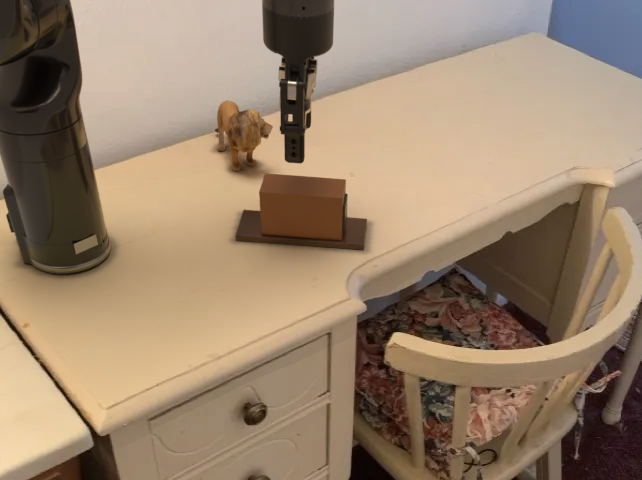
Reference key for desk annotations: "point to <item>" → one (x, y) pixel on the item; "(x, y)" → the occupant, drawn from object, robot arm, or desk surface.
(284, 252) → the desk surface
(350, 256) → the desk surface
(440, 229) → the desk surface
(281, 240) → the walnut board
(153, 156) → the desk surface
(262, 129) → the lion figurine
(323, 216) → the brown cardboard box
